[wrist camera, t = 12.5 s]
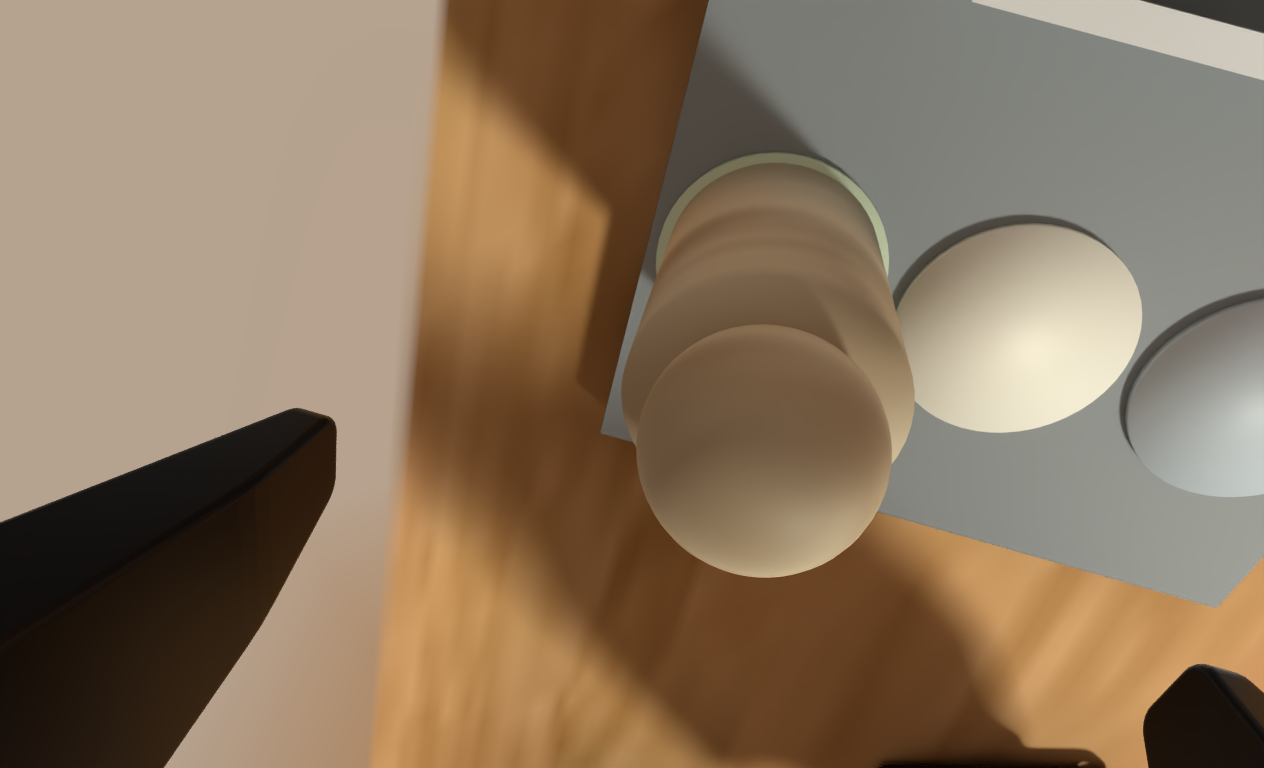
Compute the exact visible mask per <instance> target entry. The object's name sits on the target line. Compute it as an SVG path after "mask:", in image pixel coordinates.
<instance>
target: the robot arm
mask: <svg viewBox="0 0 1264 768" xmlns="http://www.w3.org/2000/svg"><path fill="white" fill-rule="evenodd" d="M336 433H337V431H336V425H335V422H334V421H333V419H332V418H330V417H329V416H325V415H322V414H318V413H315V412H311V411H308V410H305V409H300V408H293V409H289V410H286V411H284V412H281V413H279V414H276V415H273V416H271V417H268V418H266V419H263V420H261V421H258V422H256V423H253V424H251V425H248V426H245V427H243V428H241V429H238V430H235V431H233V432H230V433H228V434H225V435H222V436H220V437H217V438H215V439H212V440H210V441H207V442H204V443H202V444H199V445H197V446H194V447H192V448H189V449H187V450H184V451H182V452H179V453H176V454H174V455H171V456H169V457H166V458H164V459H161V460H158V461H156V462H153V463H151V464H148V465H146V466H143V467H141V468H138V469H136V470H133V471H131V472H128V473H125V474H123V475H120V476H118V477H115V478H112V479H110V480H107V481H105V482H102V483H100V484H97V485H95V486H92V487H89V488H87V489H84V490H82V491H79V492H77V493H74V494H72V495H69V496H66V497H64V498H61V499H59V500H56V501H54V502H51V503H49V504H46V505H44V506H41V507H38V508H36V509H33V510H31V511H28V512H26V513H23V514H21V515H18V516H15V517H13V518H11V519H8V520H5V521H3V522H0V768H164V767H165V765H166V764H167V762H168V761H169V759H170V758H171V757H172V755H173V754H174V752H175V751H176V749H177V748H178V746H179V745H180V743H181V742H182V741H183V739H184V738H185V736H186V735H187V733H188V732H189V730H190V729H191V727H192V726H193V725H194V723H195V722H196V720H197V719H198V717H199V716H200V715H201V713H202V712H203V710H204V709H205V707H206V706H207V704H208V703H209V701H210V700H211V699H212V697H213V696H214V694H215V693H216V691H217V690H218V688H219V687H220V686H221V684H222V683H223V681H224V680H225V678H226V677H227V675H228V674H229V672H230V671H231V670H232V668H233V667H234V665H235V664H236V662H237V661H238V660H239V658H240V656H241V655H242V654H243V652H244V651H245V649H246V648H247V646H248V645H249V643H250V642H251V640H252V639H253V637H254V636H255V634H256V633H257V631H258V630H259V628H260V626H261V625H262V623H263V622H264V620H265V618H266V616H267V615H268V613H269V611H270V609H271V607H272V606H273V604H274V602H275V600H276V598H277V597H278V595H279V592H280V591H281V589H282V587H283V585H284V584H285V582H286V580H287V578H288V576H289V574H290V572H291V570H292V569H293V567H294V565H295V563H296V561H297V559H298V557H299V556H300V554H301V552H302V550H303V548H304V546H305V544H306V543H307V540H308V539H309V537H310V535H311V533H312V531H313V529H314V528H315V526H316V524H317V522H318V520H319V518H320V516H321V515H322V513H323V511H324V509H325V507H326V505H327V503H328V501H329V499H330V497H331V494H332V492H333V489H334V484H335V478H336V437H337V435H336ZM1143 735H1144V742H1145V748H1146V754H1147V761H1148V767H1149V768H1264V693H1263V692H1262V691H1261V690H1260V689H1259V688H1258V687H1256V686H1255V685H1254V684H1253V683H1252V682H1251V681H1250V680H1248V679H1247V678H1245V677H1244V676H1242V675H1240V674H1238V673H1235V672H1231V671H1228V670H1224V669H1221V668H1217V667H1214V666H1210V665H1206V664H1196V665H1194V666H1191V667H1189V668H1188V669H1186V670H1185V671H1184V672H1183V673H1182V674H1181V675H1180V676H1179V677H1178V678H1177V679H1176V681H1175V682H1174V683H1173V684H1172V685H1171V686H1170V687H1169V688H1168V689H1167V690H1166V691H1165V692H1164V693H1163V694H1162V695H1161V696H1160V697H1159V698H1158V699H1157V700H1156V701H1155V702H1154V703H1153V705H1152V706H1151V707H1150V708H1149V709H1148V711H1147V713H1146V715H1145V719H1144V724H1143ZM880 768H1028V767H974V766H920V765H886V766H882V767H880Z"/></svg>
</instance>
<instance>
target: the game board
mask: <svg viewBox="0 0 1264 768" xmlns="http://www.w3.org/2000/svg"><path fill="white" fill-rule="evenodd" d="M762 163H789V164H795V165H801V166H805V167H808V168H811V169H815V170H817V171H819V172H821V173H824V174H826V175H828V176H830V177H831V178H833V179H834V180H836V181H838V182H839V183H841V184H842V185H843V186H844V187H845V188H847V189H848V190H849V191H850V192H851V193H852V194H853V195H854V196H855V197H856V198H857V199H858V201H859V202H860V203H861V204H862V206H863V207H864V209H865V210H866V212H867V213H868V215H869V217H870V220H871V222H872V224H873V226H874V229H875V232H876V236H877V239H878V243H879V247H880V251H881V255H882V259H883V263H884V267H885V270H886V274H887V278H888V282H889V286H890V290H891V294H892V298H893V302H894V306H895V310H896V314H897V317H898V321H899V325H900V329H901V333H902V337H903V341H904V345H905V349H906V353H907V357H908V361H909V364H910V368H911V372H912V376H913V383H914V391H915V405H914V414H913V420H912V425H911V428H910V431H909V434H908V436H907V439H906V442H905V444H904V445H903V447H902V449H901V451H900V453H899V455H898V456H897V458H896V459H895V460H894V462H893V463H892V464H891V470H890V476H889V481H888V486H887V489H886V492H885V495H884V498H883V500H882V502H881V505H880V507H879V509H878V511H877V512H880V513H883V514H887V515H890V516H894V517H897V518H901V519H904V520H908V521H911V522H915V523H918V524H922V525H925V526H929V527H932V528H936V529H939V530H943V531H947V532H950V533H954V534H957V535H961V536H964V537H968V538H971V539H975V540H978V541H982V542H985V543H989V544H992V545H996V546H999V547H1003V548H1006V549H1010V550H1014V551H1017V552H1021V553H1024V554H1028V555H1031V556H1035V557H1038V558H1042V559H1045V560H1049V561H1052V562H1056V563H1059V564H1063V565H1066V566H1070V567H1073V568H1077V569H1080V570H1084V571H1088V572H1091V573H1095V574H1098V575H1102V576H1105V577H1109V578H1112V579H1116V580H1119V581H1123V582H1126V583H1130V584H1133V585H1137V586H1140V587H1144V588H1147V589H1151V590H1155V591H1158V592H1162V593H1165V594H1169V595H1172V596H1176V597H1179V598H1183V599H1186V600H1190V601H1193V602H1197V603H1200V604H1204V605H1207V606H1211V607H1214V608H1217V607H1218V606H1219V605H1220V603H1221V602H1222V601H1223V600H1224V599H1225V598H1226V597H1227V596H1228V595H1229V594H1230V593H1231V592H1232V590H1233V589H1234V588H1235V587H1236V586H1237V585H1238V584H1239V583H1240V582H1241V581H1242V580H1243V579H1244V577H1245V576H1246V575H1247V574H1248V573H1249V572H1250V571H1251V570H1252V569H1253V568H1254V567H1255V566H1256V564H1257V563H1258V562H1259V561H1260V560H1261V559H1262V558H1263V557H1264V0H709V2H708V6H707V10H706V14H705V18H704V22H703V26H702V30H701V34H700V38H699V42H698V46H697V50H696V54H695V58H694V62H693V66H692V70H691V74H690V78H689V82H688V86H687V89H686V93H685V97H684V101H683V105H682V109H681V113H680V117H679V121H678V125H677V129H676V133H675V137H674V141H673V145H672V149H671V153H670V157H669V161H668V165H667V169H666V173H665V177H664V181H663V185H662V189H661V193H660V197H659V201H658V205H657V209H656V213H655V217H654V221H653V225H652V229H651V233H650V237H649V241H648V245H647V249H646V252H645V256H644V260H643V264H642V268H641V272H640V276H639V280H638V284H637V288H636V292H635V296H634V300H633V304H632V308H631V312H630V316H629V320H628V324H627V328H626V332H625V336H624V340H623V344H622V348H621V352H620V356H619V360H618V364H617V368H616V372H615V376H614V380H613V384H612V388H611V392H610V396H609V400H608V404H607V408H606V412H605V416H604V419H603V423H602V427H601V431H600V433H601V434H604V435H608V436H612V437H615V438H619V439H622V440H626V441H629V442H633V440H632V438H631V436H630V434H629V431H628V428H627V426H626V423H625V419H624V414H623V409H622V396H621V387H622V379H623V372H624V369H625V365H626V362H627V358H628V355H629V352H630V350H631V347H632V344H633V341H634V338H635V336H636V333H637V330H638V327H639V324H640V321H641V319H642V316H643V313H644V310H645V307H646V305H647V302H648V299H649V296H650V293H651V290H652V288H653V285H654V282H655V279H656V276H657V274H658V271H659V268H660V265H661V262H662V259H663V257H664V254H665V251H666V248H667V245H668V243H669V240H670V237H671V234H672V231H673V229H674V227H675V224H676V222H677V220H678V218H679V216H680V215H681V213H682V212H683V210H684V208H685V207H686V206H687V205H688V203H689V202H690V201H691V200H692V198H693V197H694V196H695V195H696V194H698V193H699V192H700V191H701V190H702V189H703V188H704V187H705V186H707V185H708V184H710V183H711V182H712V181H714V180H715V179H717V178H719V177H721V176H723V175H725V174H727V173H729V172H731V171H734V170H737V169H739V168H742V167H746V166H750V165H755V164H762ZM633 443H634V442H633Z"/></svg>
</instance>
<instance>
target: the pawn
mask: <svg viewBox="0 0 1264 768" xmlns="http://www.w3.org/2000/svg"><path fill="white" fill-rule="evenodd" d="M621 396H622V409H623V414H624V419H625V423H626V426H627V428H628V431H629V434H630V436H631V438H632V440H633V442H634V444H635V446H636V456H637V468H638V473H639V478H640V482H641V485H642V488H643V491H644V494H645V497H646V499H647V501H648V503H649V505H650V507H651V509H652V511H653V513H654V515H655V516H656V518H657V520H658V521H659V522H660V524H661V525H662V527H663V528H664V529H665V530H666V531H667V532H668V534H669V535H670V536H671V537H672V538H673V539H674V540H675V541H676V542H677V543H678V544H679V545H680V546H682V547H683V548H684V549H685V550H686V551H688V552H689V553H691V554H692V555H693V556H695V557H696V558H698V559H700V560H702V561H704V562H706V563H707V564H709V565H711V566H714V567H716V568H718V569H721V570H723V571H727V572H730V573H733V574H738V575H743V576H749V577H760V578H772V577H783V576H788V575H793V574H797V573H800V572H804V571H807V570H811V569H813V568H815V567H818V566H820V565H823V564H824V563H826V562H828V561H830V560H831V559H833V558H835V557H836V556H837V555H839V554H840V553H841V552H843V551H844V550H845V549H847V548H848V547H849V546H850V545H852V544H853V543H854V542H855V541H856V540H857V539H858V538H859V537H860V535H861V534H862V533H863V531H864V530H865V529H866V528H867V526H868V525H869V524H870V522H871V521H872V520H873V518H874V516H875V514H876V513H877V511H878V509H879V507H880V505H881V502H882V500H883V498H884V495H885V492H886V489H887V486H888V481H889V476H890V470H891V464H892V463H893V462H894V460H895V459H896V458H897V456H898V455H899V453H900V451H901V449H902V447H903V445H904V444H905V442H906V439H907V436H908V434H909V431H910V428H911V425H912V420H913V414H914V405H915V391H914V383H913V376H912V372H911V368H910V364H909V361H908V357H907V353H906V349H905V345H904V341H903V337H902V333H901V329H900V325H899V321H898V317H897V314H896V310H895V306H894V302H893V298H892V294H891V290H890V286H889V282H888V278H887V274H886V270H885V267H884V263H883V259H882V255H881V251H880V247H879V243H878V239H877V236H876V232H875V229H874V226H873V224H872V222H871V220H870V217H869V215H868V213H867V212H866V210H865V209H864V207H863V206H862V204H861V203H860V202H859V201H858V199H857V198H856V197H855V196H854V195H853V194H852V193H851V192H850V191H849V190H848V189H847V188H845V187H844V186H843V185H842V184H841V183H839V182H838V181H836V180H834V179H833V178H831V177H830V176H828V175H826V174H824V173H821V172H819V171H817V170H815V169H811V168H808V167H805V166H801V165H795V164H789V163H762V164H755V165H750V166H746V167H742V168H739V169H737V170H734V171H731V172H729V173H727V174H725V175H723V176H721V177H719V178H717V179H715V180H714V181H712V182H711V183H710V184H708V185H707V186H705V187H704V188H703V189H702V190H701V191H700V192H699V193H698V194H696V195H695V196H694V197H693V198H692V200H691V201H690V202H689V203H688V205H687V206H686V207H685V208H684V210H683V212H682V213H681V215H680V216H679V218H678V220H677V222H676V224H675V227H674V229H673V231H672V234H671V237H670V240H669V243H668V245H667V248H666V251H665V254H664V257H663V259H662V262H661V265H660V268H659V271H658V274H657V276H656V279H655V282H654V285H653V288H652V290H651V293H650V296H649V299H648V302H647V305H646V307H645V310H644V313H643V316H642V319H641V321H640V324H639V327H638V330H637V333H636V336H635V338H634V341H633V344H632V347H631V350H630V352H629V355H628V358H627V362H626V365H625V369H624V372H623V379H622V387H621Z"/></svg>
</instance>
